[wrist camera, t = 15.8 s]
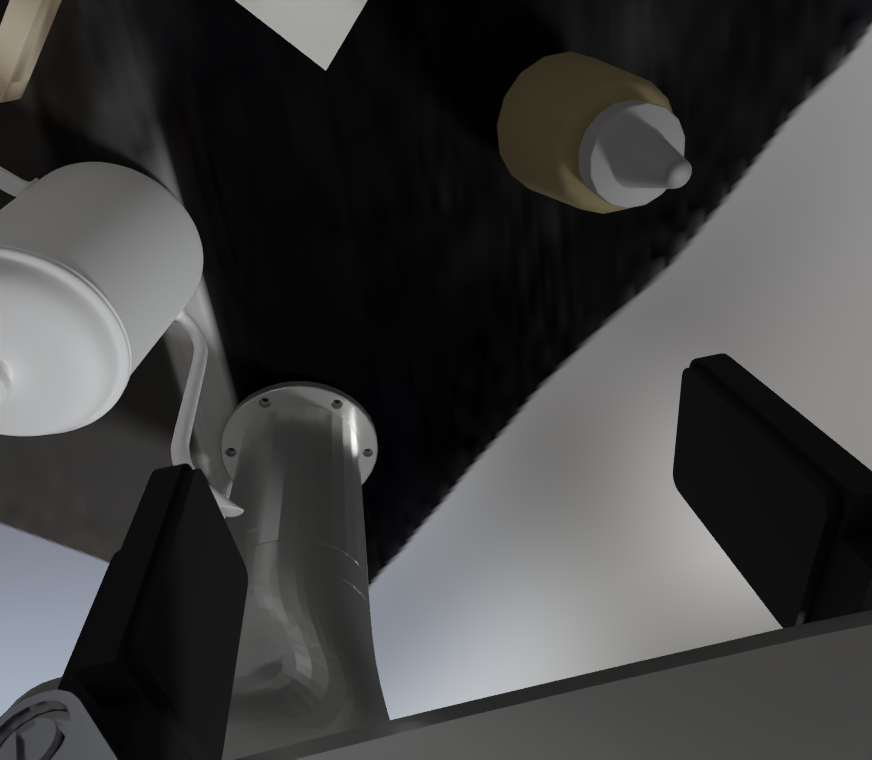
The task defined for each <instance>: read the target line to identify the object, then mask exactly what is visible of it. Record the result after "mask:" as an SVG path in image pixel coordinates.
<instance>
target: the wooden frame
mask: <svg viewBox="0 0 872 760" xmlns="http://www.w3.org/2000/svg"><path fill="white" fill-rule="evenodd" d="M60 3H61V0H10V1H9V4H8V6H7V9H6V12H5V14H4V17H3V20H2V22H1V25H0V103H3V102H8V101H12V100H17V99H21V98H22V96H23V93H24V91H25V89H26V86H27V84H28V81H29V79H30V76H31V74H32V71H33V69H34V67H35V64H36V62H37V59H38V57H39V54H40V52H41V49H42V47H43V44H44V42H45V40H46V37H47V35H48V32H49V30H50V27H51V25H52V22H53V20H54V18H55V15H56V13H57V10H58V8H59V5H60Z"/></svg>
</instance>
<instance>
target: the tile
mask: <svg viewBox="0 0 872 760" xmlns="http://www.w3.org/2000/svg"><path fill="white" fill-rule="evenodd" d="M236 1H237V2H238V3H239V4H241V5H242V6H243V7H245V8H246V9H247V10H248V11H250V12H251V13H252V14H254V15H255V16H256V17H257V18H259V19H260V20H261V21H263V22H264V23H265V24H266V25H268V26H269V27H270V28H272V29H273V30H274V31H275V32H277V33H278V34H279V35H281V36H282V37H283V38H284V39H286V40H287V41H288V42H290V43H291V44H292V45H294V46H295V47H296V48H297V49H299V50H300V51H301V52H303V53H304V54H305V55H306V56H308V57H309V58H310V59H312V60H313V61H314V62H315V63H317V64H318V65H319V66H321V67H322V68H323V69H324V70H327V68H328V66H329V65H330V63H331V61H332V60H333V58H334V56H335V54H336V53H337V51H338V49H339V48H340V46H341V44H342V43H343V41H344V39H345V37H346V36H347V34H348V32H349V31H350V29H351V27H352V26H353V24H354V22H355V20H356V19H357V17H358V15H359V14H360V12H361V10H362V9H363V7H364V5H365V3H366V2H367V0H236Z"/></svg>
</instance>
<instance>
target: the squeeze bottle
mask: <svg viewBox="0 0 872 760" xmlns="http://www.w3.org/2000/svg"><path fill="white" fill-rule="evenodd" d="M497 133H498V143H499V153H500V155H501V157H502V158H503V160H504V162H505V164H506V166H507V168H508V170H509V172H510V174H511V175H512V176H513V177H515V178H516V179H517V180H519V181H520V182H521V183H522V184H524V185H525V186H526V187H528V188H529V189H531V190H533V191H536V192H539V193H541V194H544V195H546V196H549V197H551V198H554V199H557V200H559V201H562V202H564V203H567V204H569V205H572V206H575V207H577V208H580V209H583V210H588V211H593V212H597V213H602V214H604V213H609V212H613V211H618V210H623V209H627V208H631V207H636V206H641V205H645V204H647V203H648V202H650V201H652V200H653V199H655V198H656V197H658V196H660V195H661V194H662V193H663V192H664V191H665V190H666V189H675V188H680V187H681V186H683V185H685V184H686V182H687V181H688V180H689V178H690V176H691V170H692V168H691V165H690V163H689V162H688V161H687V160H686V159H685V158H684V145H685V136H684V133H683V130H682V127H681V125H680V122H679V119H678V118H677V117H676V116H675V115H674V114H673V112H672V109H671V106H670V104H669V101H668V98H667V97H666V96H665V95H664V94H663V93H662V92H661V91H660V90H659V89H658V88H657V87H655V86H654V85H653V84H652V83H651V82H650V81H648V80H645V79H643V78H640V77H638V76H636V75H633V74H631V73H628V72H626V71H624V70H621V69H619V68H616V67H614V66H612V65H609V64H607V63H604V62H602V61H600V60H597V59H595V58H591V57H588V56H584V55H581V54H577V53H574V52H565V53H560V54H555V55H550V56H545V57H543V58H541V59H540V60H539V61H537V62H536V63H534V64H533V65H531V66H530V67H529V68H527V69H526V70H524V71H523V72H521V73H520V75H519V76H518V78H517V79H516V81H515V82H514V84H513V85H512V86H511V88H510V89H509V91H508V92H507V94H506V95H505V97H504V100H503V103H502V107H501V111H500V115H499V119H498V123H497Z"/></svg>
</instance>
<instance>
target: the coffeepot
mask: <svg viewBox="0 0 872 760" xmlns="http://www.w3.org/2000/svg"><path fill="white" fill-rule="evenodd" d="M38 180H39V179H38V178H35V179H34V180H32V181H30V182H28V181H25V180H23V179H21V178H19V177H18V176H16V175H14V174H12V173H11V172H9V171H7V170H6V169H4V168H2V167H0V189H1V190H3V191H5V192H6V193H8V194H10V195H12V196H15V197H16V198H15V199H14V200H13V201H11V202H10V203H9V204H7V205H6V206H5V207H3V208H2V209H1V210H0V434H3V435H11V436H38V435H46V434H56V433H63V432H67V431H71V430H75V429H78V428H81V427H83V426H86V425H88V424H90V423H92V422H94V421H95V420H97V419H98V418H100V417H101V416H103V415H104V414H105V413H107V412H108V411H109V410H110V409H111V408H112V407H113V406H114V405H115V403H116V402H117V401H118V399H119V398H120V396H121V395H122V393H123V391H124V389H125V387H126V385H127V383H128V380H129V377H130V375H131V374H132V373H133V371H134V370H135V369H136V368H137V366H138V365H139V364H140V363H141V361H142V360H143V359H144V358H145V356H146V355H147V354H148V352H149V351H150V350H151V349H152V347H153V346H154V345H155V344H156V342H157V341H158V340H159V339H160V337H161V336H162V335H163V334H164V332H165V331H166V330H167V329H168V327H169V326H170V325H171V323H172V322H173V321H174V322H175V321H176V322H177V323H179V324H180V325H181V326H182V327H183V329H184V330H185V331H186V332H187V333H188V335H189V336H190V338H191V340H192V343H193V347H194V355H193V359H192V364H191V368H190V372H189V376H188V379H187V383H186V387H185V391H184V395H183V399H182V403H181V407H180V411H179V414H178V418H177V422H176V426H175V430H174V435H173V439H172V444H171V457H172V462H173V466H174V465H179V464H184V463H187V464H189V465H190V466H191V467H192V469H193V470H194V469H195V467H194V466H193V464H192V461H191V458H190V454H189V443H190V437H191V432H192V428H193V423H194V418H195V414H196V409H197V405H198V400H199V396H200V391H201V386H202V382H203V377H204V373H205V368H206V362H207V356H208V346H207V341H206V339H205V336H204V334H203V332H202V331H201V329H200V327H199V326H198V325H197V324H196V322H195V321H194V320H193V319H192V318H191V317H190V316H189V315H188V314H187V313H186V312H185V311H186V310H185V309H184V307H185V306H186V305H187V303H188V302H189V301H190V299H191V298H192V297H193V295H194V293H195V291H196V289H197V287H198V285H199V282H200V279H201V275H202V270H203V250H202V244H201V240H200V237H199V234H198V231H197V229H196V226H195V224H194V222H193V220H192V219H191V217H190V215H189V214H188V212H187V211H186V209H185V208H184V207H183V205H182V204H181V203H180V202H179V201H178V200H177V199H176V198H175V197H174V196H173V195H172V194H171V193H170V192H169V191H168V190H167V189H166V188H164V187H163V186H162V185H160V184H159V183H158V182H156V181H155V180H153V179H151V178H150V177H148V176H146V175H144V174H142V173H140V172H138V171H135V170H133V169H130V168H127V167H124V166H121V165H117V164H112V163H105V162H82V163H76V164H71V165H67V166H64V167H61V168H59V169H56V170H54V171H52V172H50V173H49V174H47V175H45V176H44V177H43V178H41V179H40V180H39V181H38ZM209 486H210V488H211V490H212V493H213V495H214V497H215V499H216V501H217V504H218V506H219V508H220V510H221V512H222V515H223V516H225V517H235V516H238V515H240V514H242V513H243V512H244V510H243V509H242V508H240V507H239V506H237V505H236V504H234V503H233V502H232V501H230V500H229V499H228V498H226V497H225V496H223V495H222V494H221V493H220V492H218V491H217V490H216V489H214V488H213V487H212V486H211V485H209Z"/></svg>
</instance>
